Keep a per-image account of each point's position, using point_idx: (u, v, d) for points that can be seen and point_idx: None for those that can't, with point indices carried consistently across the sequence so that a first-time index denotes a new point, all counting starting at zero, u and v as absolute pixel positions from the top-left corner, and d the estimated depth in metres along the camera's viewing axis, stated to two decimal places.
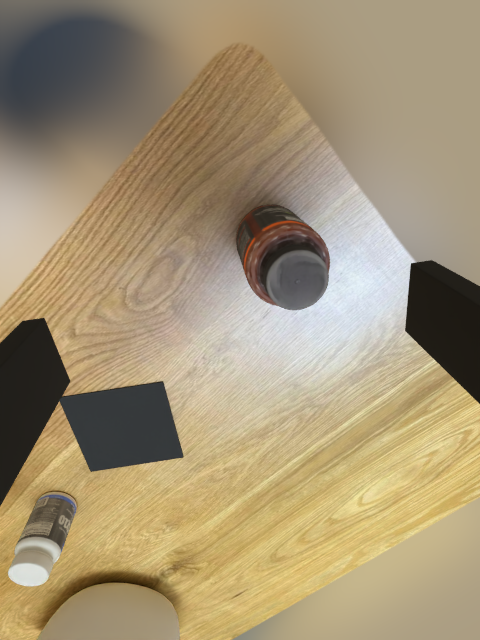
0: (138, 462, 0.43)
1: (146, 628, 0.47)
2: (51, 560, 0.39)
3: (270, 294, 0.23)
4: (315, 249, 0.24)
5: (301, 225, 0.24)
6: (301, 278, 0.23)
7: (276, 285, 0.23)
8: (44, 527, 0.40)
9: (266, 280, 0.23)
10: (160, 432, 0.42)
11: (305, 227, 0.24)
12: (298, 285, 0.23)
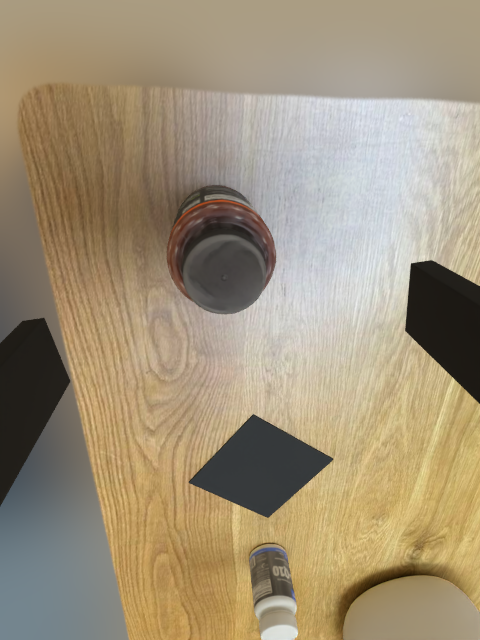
0: (298, 487, 0.41)
1: (430, 620, 0.43)
2: (289, 613, 0.39)
3: (213, 311, 0.18)
4: (222, 223, 0.18)
5: (191, 211, 0.19)
6: (225, 271, 0.17)
7: (208, 299, 0.18)
8: (265, 587, 0.41)
9: (195, 302, 0.18)
10: (292, 453, 0.38)
11: (196, 210, 0.18)
12: (229, 280, 0.17)
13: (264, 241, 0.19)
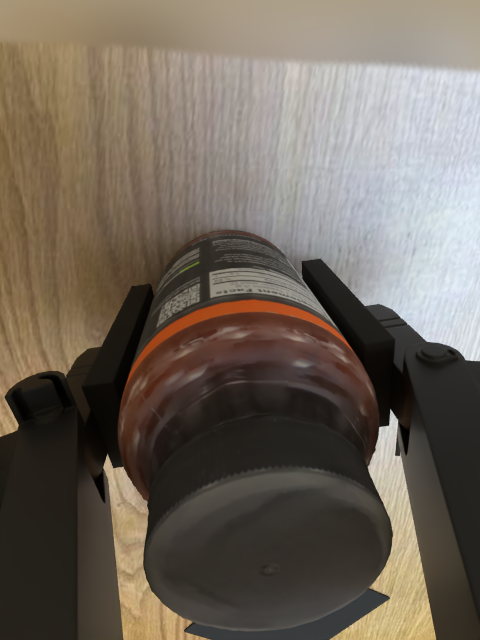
0: (338, 630, 0.29)
1: None
2: None
3: (233, 629, 0.06)
4: (259, 386, 0.06)
5: (176, 341, 0.07)
6: (273, 557, 0.06)
7: (221, 612, 0.06)
8: None
9: None
10: None
11: (188, 340, 0.07)
12: (284, 574, 0.06)
13: (362, 413, 0.07)
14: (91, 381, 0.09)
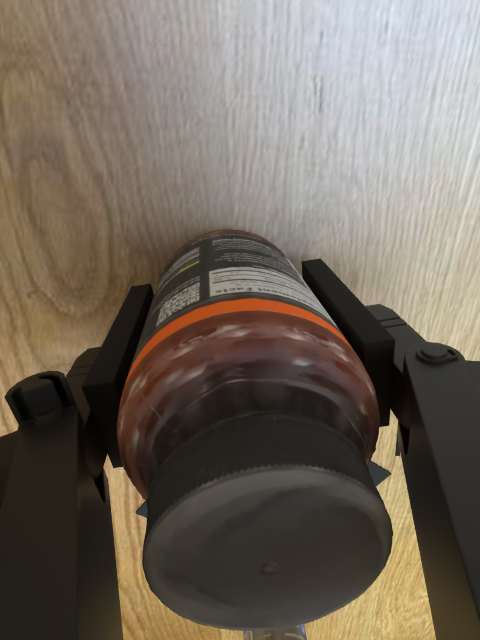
0: None
1: None
2: None
3: (232, 629, 0.06)
4: (258, 385, 0.06)
5: (175, 340, 0.07)
6: (273, 555, 0.06)
7: (221, 612, 0.06)
8: None
9: None
10: None
11: (187, 339, 0.07)
12: (284, 573, 0.06)
13: (362, 412, 0.07)
14: (91, 381, 0.09)
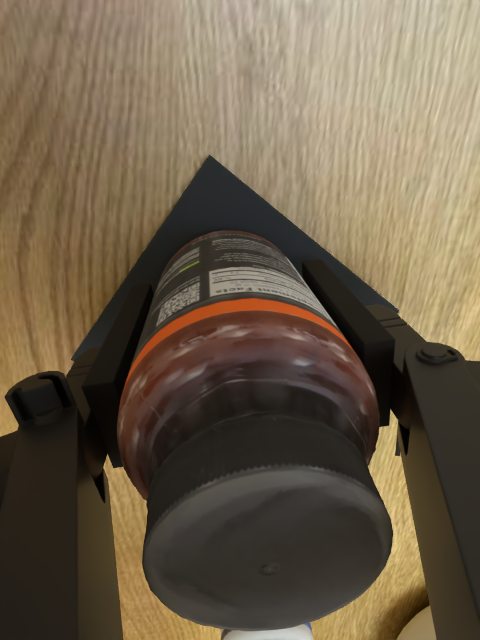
0: None
1: None
2: None
3: (232, 629, 0.06)
4: (258, 385, 0.06)
5: (175, 340, 0.07)
6: (273, 556, 0.06)
7: (221, 612, 0.06)
8: None
9: None
10: None
11: (187, 339, 0.07)
12: (284, 573, 0.06)
13: (362, 412, 0.07)
14: (91, 381, 0.09)
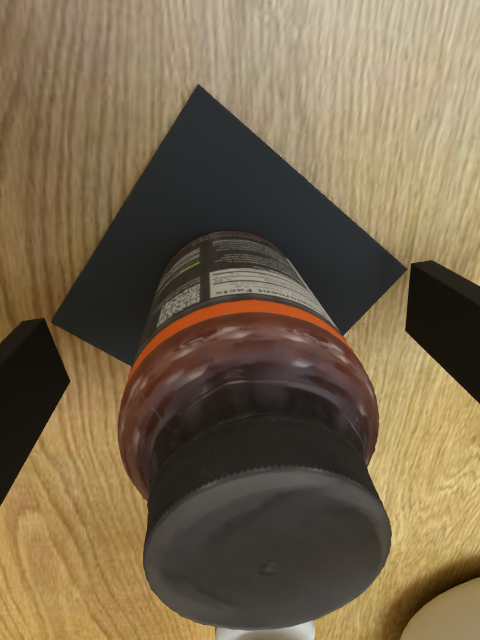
0: None
1: None
2: None
3: (232, 628, 0.07)
4: (258, 386, 0.06)
5: (176, 341, 0.07)
6: (272, 556, 0.06)
7: (221, 612, 0.06)
8: None
9: None
10: (307, 243, 0.15)
11: (187, 340, 0.07)
12: (283, 573, 0.06)
13: (362, 413, 0.07)
14: None
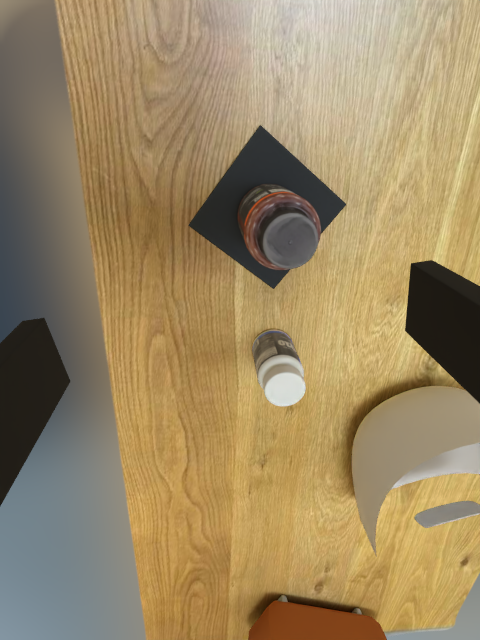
0: None
1: (449, 407, 0.40)
2: (296, 368, 0.35)
3: (280, 266, 0.26)
4: (287, 207, 0.27)
5: (265, 199, 0.27)
6: (291, 238, 0.26)
7: (278, 257, 0.26)
8: (269, 351, 0.37)
9: (269, 260, 0.26)
10: (302, 191, 0.35)
11: (268, 198, 0.27)
12: (293, 244, 0.26)
13: (314, 220, 0.27)
14: None
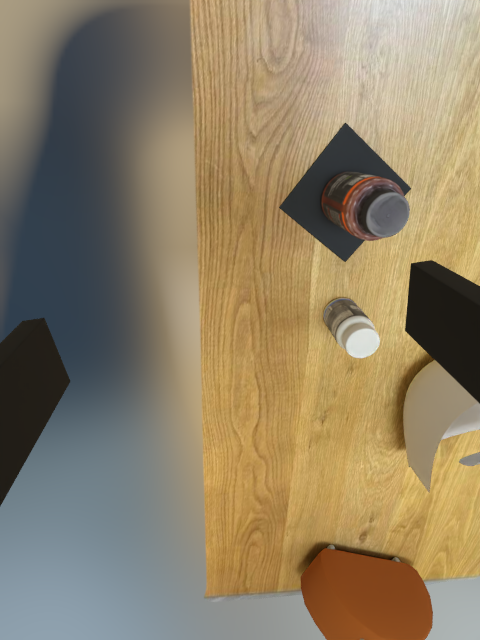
0: None
1: None
2: (371, 326, 0.43)
3: (378, 235, 0.33)
4: (383, 188, 0.33)
5: (363, 182, 0.34)
6: (389, 212, 0.33)
7: (377, 228, 0.33)
8: (346, 314, 0.44)
9: (369, 230, 0.33)
10: None
11: (367, 181, 0.34)
12: (390, 217, 0.33)
13: None
14: None
